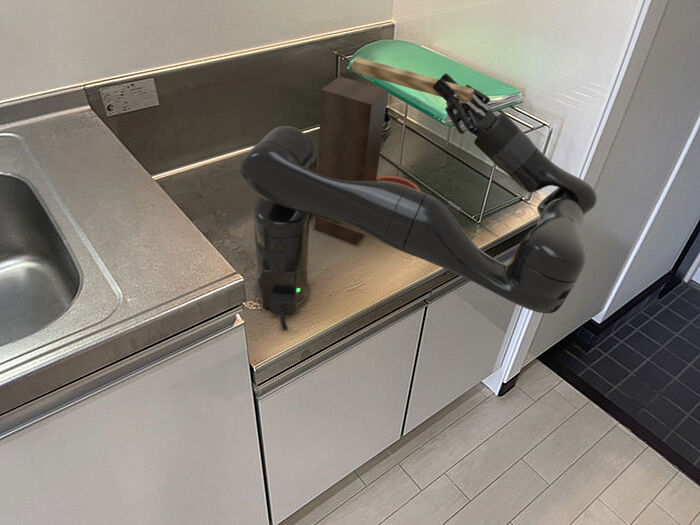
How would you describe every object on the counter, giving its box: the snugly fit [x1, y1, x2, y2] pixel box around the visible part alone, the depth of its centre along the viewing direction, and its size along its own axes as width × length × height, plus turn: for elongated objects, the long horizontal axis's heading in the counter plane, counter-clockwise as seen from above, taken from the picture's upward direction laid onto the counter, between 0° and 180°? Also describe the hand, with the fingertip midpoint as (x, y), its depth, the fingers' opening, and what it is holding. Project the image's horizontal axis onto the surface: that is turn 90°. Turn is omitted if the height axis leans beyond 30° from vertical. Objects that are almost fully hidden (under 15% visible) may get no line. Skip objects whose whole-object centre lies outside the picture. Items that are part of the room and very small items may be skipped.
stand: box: [314, 75, 389, 246], centre depth 108 cm, size 10×7×32 cm
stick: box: [351, 57, 475, 101], centre depth 103 cm, size 24×2×2 cm, turn 63°
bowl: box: [376, 175, 422, 192], centre depth 122 cm, size 13×13×6 cm
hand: (439, 79), depth 101 cm, fingers closed on stick, 2 cm apart
